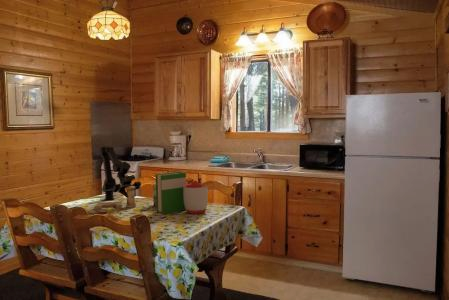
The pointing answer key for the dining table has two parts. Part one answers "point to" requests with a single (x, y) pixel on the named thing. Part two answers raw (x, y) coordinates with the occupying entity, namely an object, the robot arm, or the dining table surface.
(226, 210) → the dining table surface
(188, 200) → the white plant pot
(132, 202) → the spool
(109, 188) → the robot arm
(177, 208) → the hardback book
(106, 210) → the dining table surface
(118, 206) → the notched board
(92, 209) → the dining table surface
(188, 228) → the dining table surface
